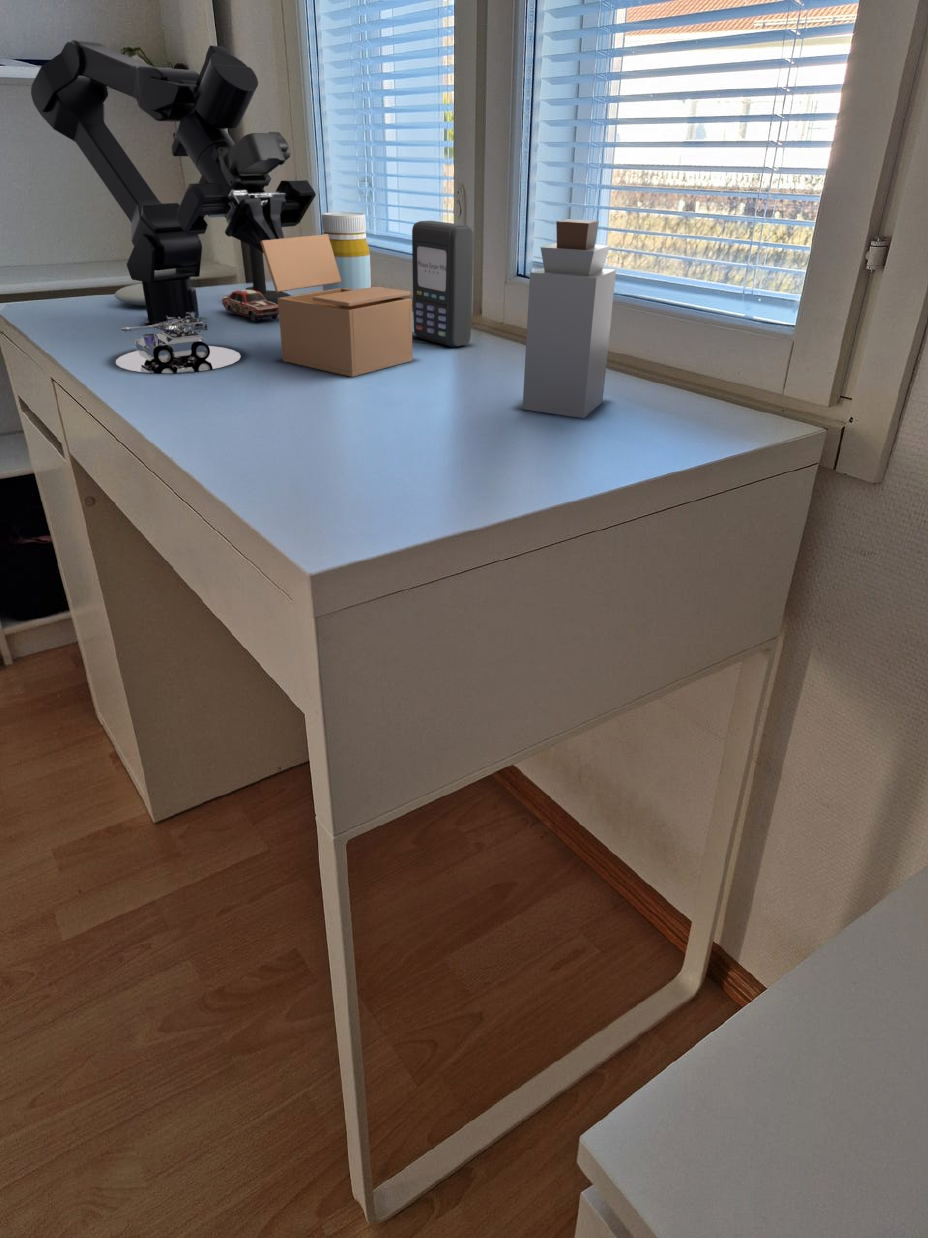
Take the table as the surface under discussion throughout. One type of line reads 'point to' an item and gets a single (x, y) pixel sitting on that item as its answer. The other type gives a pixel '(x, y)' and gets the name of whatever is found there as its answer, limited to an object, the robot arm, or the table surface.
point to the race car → (250, 305)
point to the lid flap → (300, 262)
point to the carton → (347, 329)
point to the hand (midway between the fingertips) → (285, 260)
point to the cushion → (131, 295)
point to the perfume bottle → (569, 323)
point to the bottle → (348, 249)
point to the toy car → (175, 349)
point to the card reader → (442, 282)
